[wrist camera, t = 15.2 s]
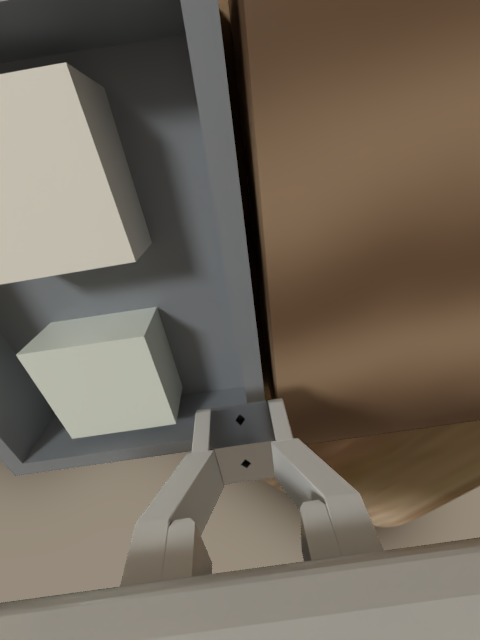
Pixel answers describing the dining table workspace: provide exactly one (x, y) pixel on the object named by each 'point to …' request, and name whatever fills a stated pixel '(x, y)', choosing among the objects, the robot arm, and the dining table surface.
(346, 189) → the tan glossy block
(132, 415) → the tile
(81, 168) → the tile
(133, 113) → the bin
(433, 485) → the dining table surface
